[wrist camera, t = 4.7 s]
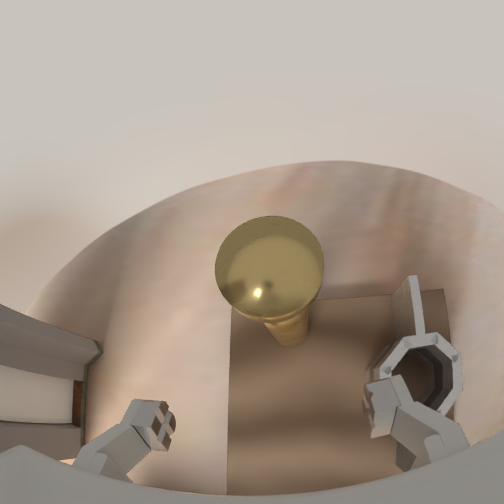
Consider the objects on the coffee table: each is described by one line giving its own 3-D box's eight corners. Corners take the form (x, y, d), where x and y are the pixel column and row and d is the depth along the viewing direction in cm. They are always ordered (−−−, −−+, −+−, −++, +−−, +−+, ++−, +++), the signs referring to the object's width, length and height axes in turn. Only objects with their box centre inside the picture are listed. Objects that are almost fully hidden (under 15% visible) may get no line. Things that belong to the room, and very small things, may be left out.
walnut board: (436, 512, 13) (440, 516, 12) (230, 529, 17) (226, 534, 16) (438, 292, 23) (443, 288, 22) (235, 306, 26) (231, 303, 25)
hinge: (432, 456, 16) (458, 468, 11) (362, 470, 17) (375, 489, 12) (426, 292, 22) (448, 271, 17) (360, 299, 23) (371, 278, 19)
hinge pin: (316, 353, 22) (327, 314, 9) (266, 355, 23) (211, 318, 10) (314, 305, 24) (318, 212, 11) (266, 308, 24) (218, 220, 12)
